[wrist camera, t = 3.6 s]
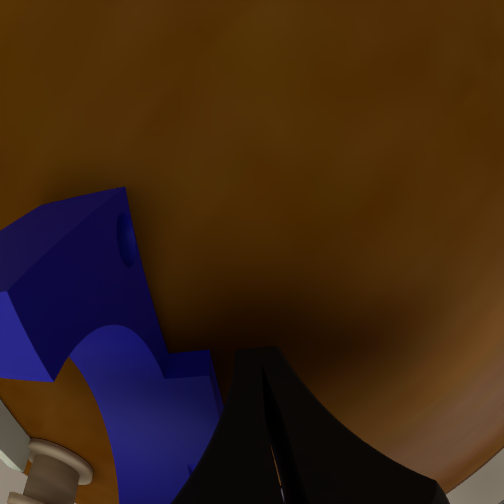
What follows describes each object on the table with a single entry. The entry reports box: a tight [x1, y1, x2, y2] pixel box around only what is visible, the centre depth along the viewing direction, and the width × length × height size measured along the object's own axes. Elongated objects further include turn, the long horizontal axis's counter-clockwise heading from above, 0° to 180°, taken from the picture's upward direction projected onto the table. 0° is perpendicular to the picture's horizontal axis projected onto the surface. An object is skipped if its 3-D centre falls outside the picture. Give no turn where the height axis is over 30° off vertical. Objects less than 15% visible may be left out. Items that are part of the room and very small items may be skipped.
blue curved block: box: [0, 187, 224, 504], centre depth 8 cm, size 12×4×6 cm, turn 5°
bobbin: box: [7, 438, 93, 504], centre depth 11 cm, size 5×5×5 cm
